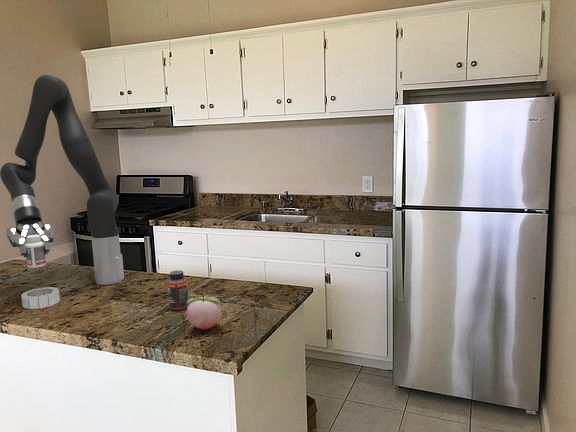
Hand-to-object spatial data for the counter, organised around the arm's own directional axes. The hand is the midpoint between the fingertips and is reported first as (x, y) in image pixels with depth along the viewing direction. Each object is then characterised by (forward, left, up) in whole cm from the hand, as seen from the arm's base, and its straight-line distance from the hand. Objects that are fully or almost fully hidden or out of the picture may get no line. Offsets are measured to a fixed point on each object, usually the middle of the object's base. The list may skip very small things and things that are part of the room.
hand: (36, 254), depth 145 cm
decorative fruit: (-53, +29, -17) cm, 63 cm away
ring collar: (+1, -1, -16) cm, 17 cm away
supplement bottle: (-44, +11, -17) cm, 48 cm away
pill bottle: (+1, -2, -4) cm, 5 cm away
